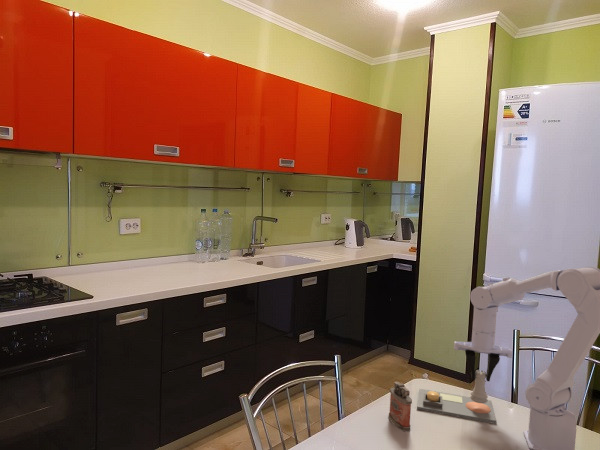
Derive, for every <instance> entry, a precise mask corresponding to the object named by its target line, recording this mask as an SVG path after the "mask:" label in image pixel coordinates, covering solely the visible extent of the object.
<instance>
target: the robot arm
mask: <svg viewBox="0 0 600 450" xmlns="http://www.w3.org/2000/svg"><path fill="white" fill-rule="evenodd" d="M550 288H551V289H552V290H553V291H556V292H557V291H558V292H559V291H560V292H561V294H562V295H563V296H564V297H565V298H566V299H567V301H569V303H570V304H571V305H572V306H573V307H574V309H575V312H576V313H577V316H576V317H575V319H574V321H573V322H572V325H570V328H569V330H568V331H567V334H565V336H564V339H563V340H562V341H561V344H560V345H559V347H558V349H557V351H556V352H555V354H554V356H553V358H552V360H551V362H550V363H549V365H548V367H547V369H546V370H545V371H543V372H542V373H541V374H540V375H539V376H538V377H537V378H536V380H535V381H534V382H532V383H531V384H529V385H527V387H526V389H525V398H526V401H527V402H528V405H529V408H530V409H529V418H528V419H529V421H528V430H523V435H524V437H525V440H526V443H527V445H528V449H529V450H575V449H576V441H577V439H576V438H577V419H576V415H575V413H573V412H572V411H569V410H566V404H567V403H569V402H570V401H571V400H572V398H573V388H574V386H575V384H576V383H575V381H574V377H575V375H576V374H577V373H578V371H579V369H580V368H581V365H582V364H583V362H584V361H585V359H586V357H587V355H588V354H589V352H590V350H591V349H592V347H593V345H594V344H595V342H596V340H597V338H598V337H599V336H600V268H598V267H595V266H585V267H581V268H566V269H561V270H552V271H548V272H545V273H541V274H539V275H536V276H532V277H530V278H527V279H524V280H518V279H517V278H512V277H509V276H507V277H503V278H502V281H499V282H495V283H494V282H489V283H487V286H477V287H475V288H474V289H472V290H471V292H470V296H469V297H470V302H471V304H472V306H473V314H472V315H473V316H472V317H473V318H472V332H471V341H455V340H454V344H453V350H454V351H463V352H465V356H466V359H467V362H468V365H469V368H470V377H471V379H472V380H475V378H476V376H475V372H476V371H475V366H476V353H480V354H486V355H487V368H486V375H487V377H486V378H485V381H487V382H490V380H491V377H492V374H493V372H494V370H495V368H496V366H497V365H498V364H499V363H500V359H501V358H500V356H501V357H507V358H509V359H512V358H513V357H512V356H513V350H512V348H509V347H503V346H499V345H495V339H496V326H497V313H498V308H499V307H500V306H503V305H506V304H509V303H514V302H519V301H522V300H523V298H524V297H525V294H528V293H532V292H537V291H540V290H546V289H550Z"/></svg>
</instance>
